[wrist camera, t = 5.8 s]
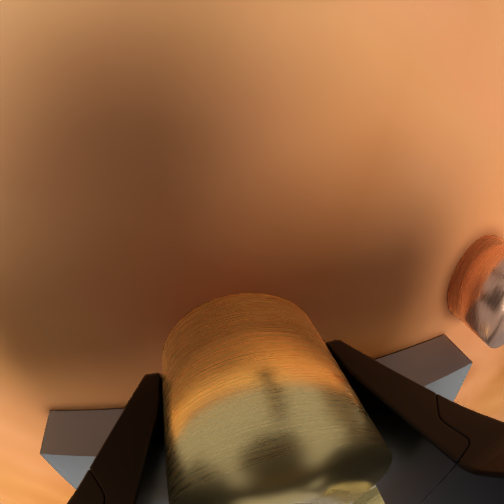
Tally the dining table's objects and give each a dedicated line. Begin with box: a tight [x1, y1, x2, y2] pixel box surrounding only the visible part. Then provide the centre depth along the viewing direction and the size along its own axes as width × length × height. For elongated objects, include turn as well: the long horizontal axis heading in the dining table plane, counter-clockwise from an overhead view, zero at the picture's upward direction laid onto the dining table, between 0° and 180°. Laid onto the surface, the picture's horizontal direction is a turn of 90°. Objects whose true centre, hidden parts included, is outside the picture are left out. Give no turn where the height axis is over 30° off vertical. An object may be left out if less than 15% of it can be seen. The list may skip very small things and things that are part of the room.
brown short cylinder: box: [448, 235, 504, 348], centre depth 12 cm, size 4×4×3 cm
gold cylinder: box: [162, 293, 393, 504], centre depth 7 cm, size 4×4×4 cm
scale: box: [40, 334, 473, 504], centre depth 14 cm, size 15×19×4 cm
